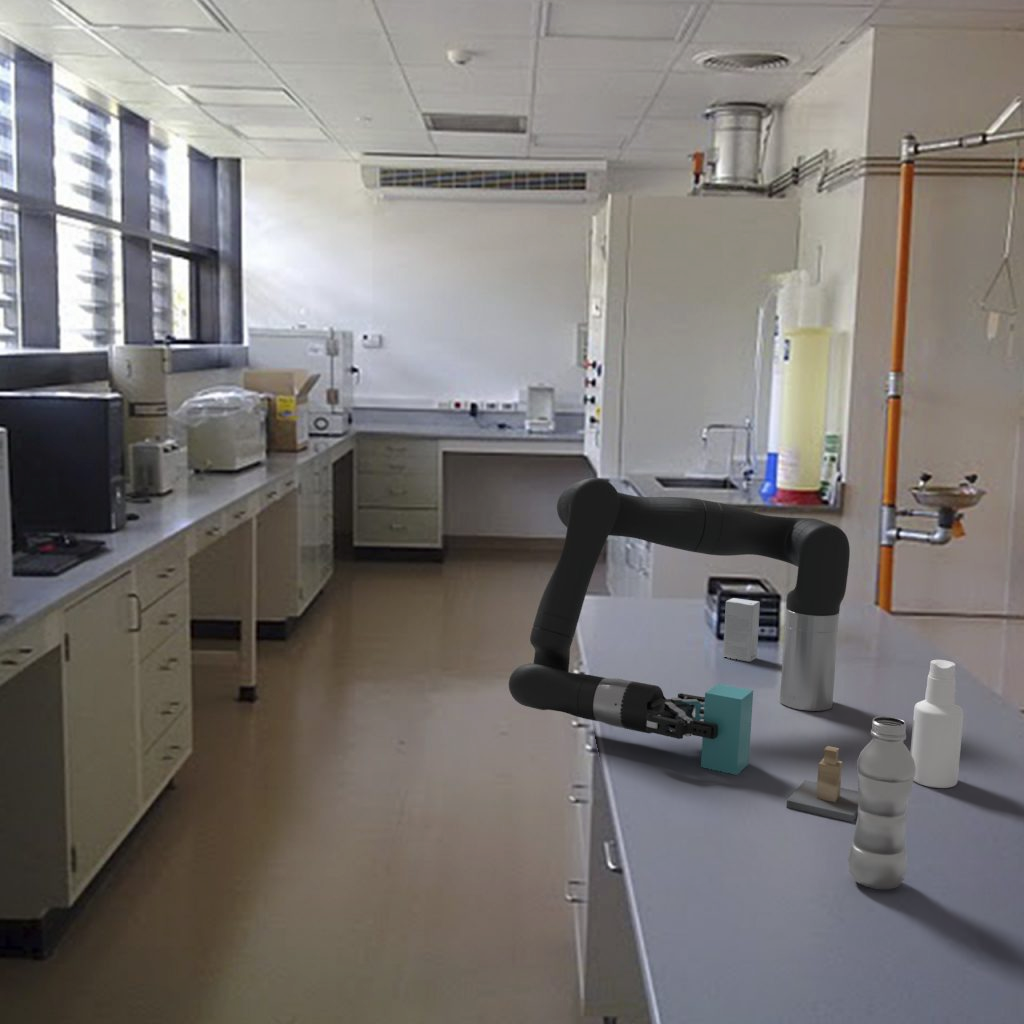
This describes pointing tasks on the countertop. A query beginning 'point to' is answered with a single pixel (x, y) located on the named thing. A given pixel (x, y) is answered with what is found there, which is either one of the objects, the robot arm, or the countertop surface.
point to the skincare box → (741, 629)
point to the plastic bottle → (882, 806)
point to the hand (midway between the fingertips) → (726, 724)
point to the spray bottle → (937, 729)
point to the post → (826, 791)
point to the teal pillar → (728, 728)
